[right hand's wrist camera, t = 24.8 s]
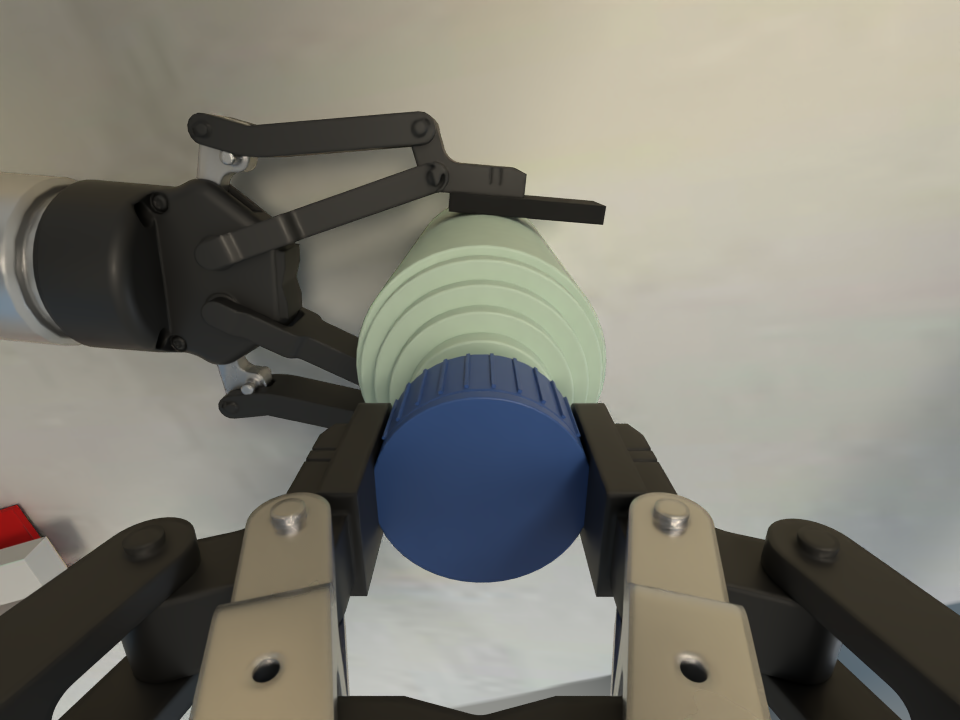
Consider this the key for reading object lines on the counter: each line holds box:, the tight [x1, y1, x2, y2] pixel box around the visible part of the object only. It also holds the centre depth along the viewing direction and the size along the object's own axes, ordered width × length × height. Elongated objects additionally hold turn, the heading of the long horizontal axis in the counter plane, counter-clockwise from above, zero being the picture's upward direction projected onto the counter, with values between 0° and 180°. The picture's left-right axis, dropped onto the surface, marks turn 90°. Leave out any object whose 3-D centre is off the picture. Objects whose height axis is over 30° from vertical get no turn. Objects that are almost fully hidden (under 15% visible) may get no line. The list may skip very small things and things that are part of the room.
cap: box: [374, 353, 589, 583], centre depth 11 cm, size 4×4×2 cm
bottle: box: [356, 208, 606, 407], centre depth 21 cm, size 8×8×21 cm
